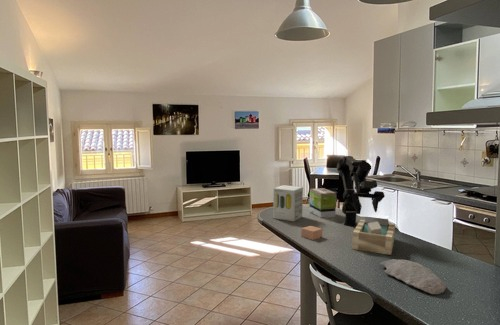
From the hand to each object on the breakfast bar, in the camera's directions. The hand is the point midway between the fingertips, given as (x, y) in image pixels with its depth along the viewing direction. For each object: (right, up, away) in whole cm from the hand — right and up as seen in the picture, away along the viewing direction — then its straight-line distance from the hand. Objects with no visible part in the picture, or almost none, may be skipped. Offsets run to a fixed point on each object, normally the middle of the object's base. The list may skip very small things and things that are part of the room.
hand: (366, 211), depth 165 cm
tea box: (-11, -9, +47) cm, 49 cm away
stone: (+3, -18, -41) cm, 45 cm away
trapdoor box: (+2, -14, -5) cm, 15 cm away
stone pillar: (+1, -11, -8) cm, 13 cm away
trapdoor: (+2, -11, -5) cm, 12 cm away
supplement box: (-33, -9, +39) cm, 52 cm away
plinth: (-25, -13, +4) cm, 28 cm away
